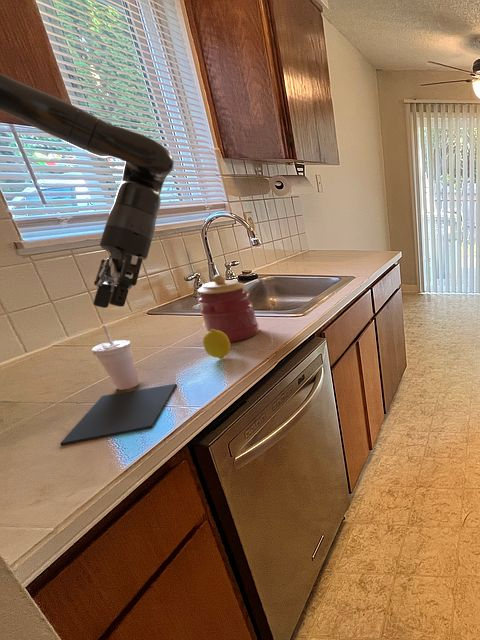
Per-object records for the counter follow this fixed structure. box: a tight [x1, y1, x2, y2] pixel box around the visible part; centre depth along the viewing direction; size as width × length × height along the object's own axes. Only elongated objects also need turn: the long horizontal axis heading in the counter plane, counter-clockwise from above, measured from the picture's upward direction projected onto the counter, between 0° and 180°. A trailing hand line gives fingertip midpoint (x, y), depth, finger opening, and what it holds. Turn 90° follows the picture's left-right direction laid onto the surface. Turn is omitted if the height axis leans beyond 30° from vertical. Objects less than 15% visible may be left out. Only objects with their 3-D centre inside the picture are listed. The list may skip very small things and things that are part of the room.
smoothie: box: [91, 324, 140, 391], centre depth 85 cm, size 6×6×14 cm
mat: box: [59, 383, 177, 446], centre depth 78 cm, size 13×18×1 cm
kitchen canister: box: [196, 274, 260, 343], centre depth 113 cm, size 13×13×18 cm
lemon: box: [202, 329, 232, 360], centre depth 99 cm, size 6×6×8 cm
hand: (107, 306), depth 81 cm, fingers open, 8 cm apart
